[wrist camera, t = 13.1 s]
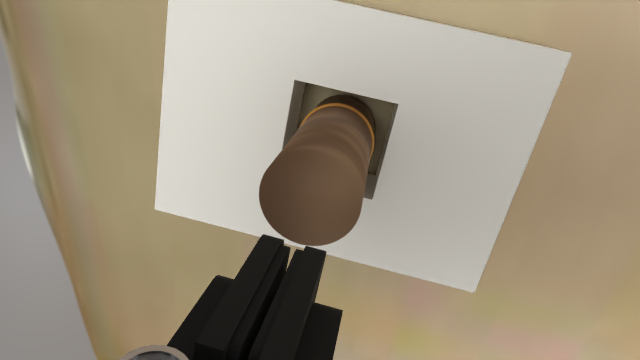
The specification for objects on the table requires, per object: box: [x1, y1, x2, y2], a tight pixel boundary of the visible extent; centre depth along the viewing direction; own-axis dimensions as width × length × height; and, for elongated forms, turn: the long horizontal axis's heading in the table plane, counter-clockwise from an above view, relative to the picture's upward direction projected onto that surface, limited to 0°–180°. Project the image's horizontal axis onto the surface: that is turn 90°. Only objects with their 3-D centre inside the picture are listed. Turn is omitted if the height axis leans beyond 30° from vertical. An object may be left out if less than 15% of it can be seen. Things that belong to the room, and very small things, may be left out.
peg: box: [259, 95, 375, 246], centre depth 23 cm, size 4×4×12 cm
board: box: [155, 0, 572, 293], centre depth 26 cm, size 20×14×4 cm
